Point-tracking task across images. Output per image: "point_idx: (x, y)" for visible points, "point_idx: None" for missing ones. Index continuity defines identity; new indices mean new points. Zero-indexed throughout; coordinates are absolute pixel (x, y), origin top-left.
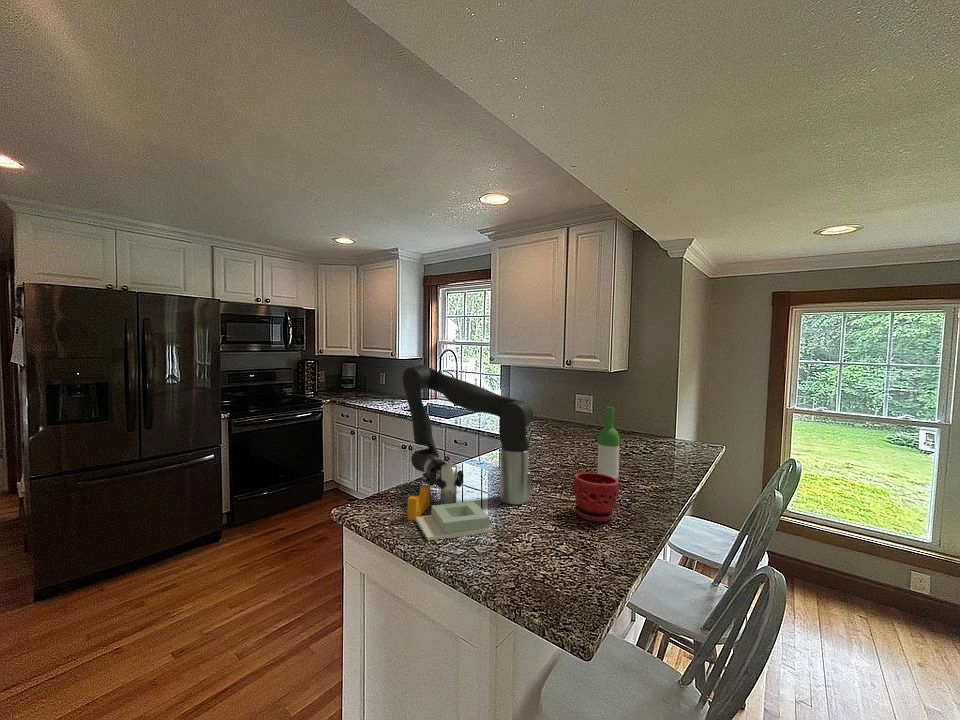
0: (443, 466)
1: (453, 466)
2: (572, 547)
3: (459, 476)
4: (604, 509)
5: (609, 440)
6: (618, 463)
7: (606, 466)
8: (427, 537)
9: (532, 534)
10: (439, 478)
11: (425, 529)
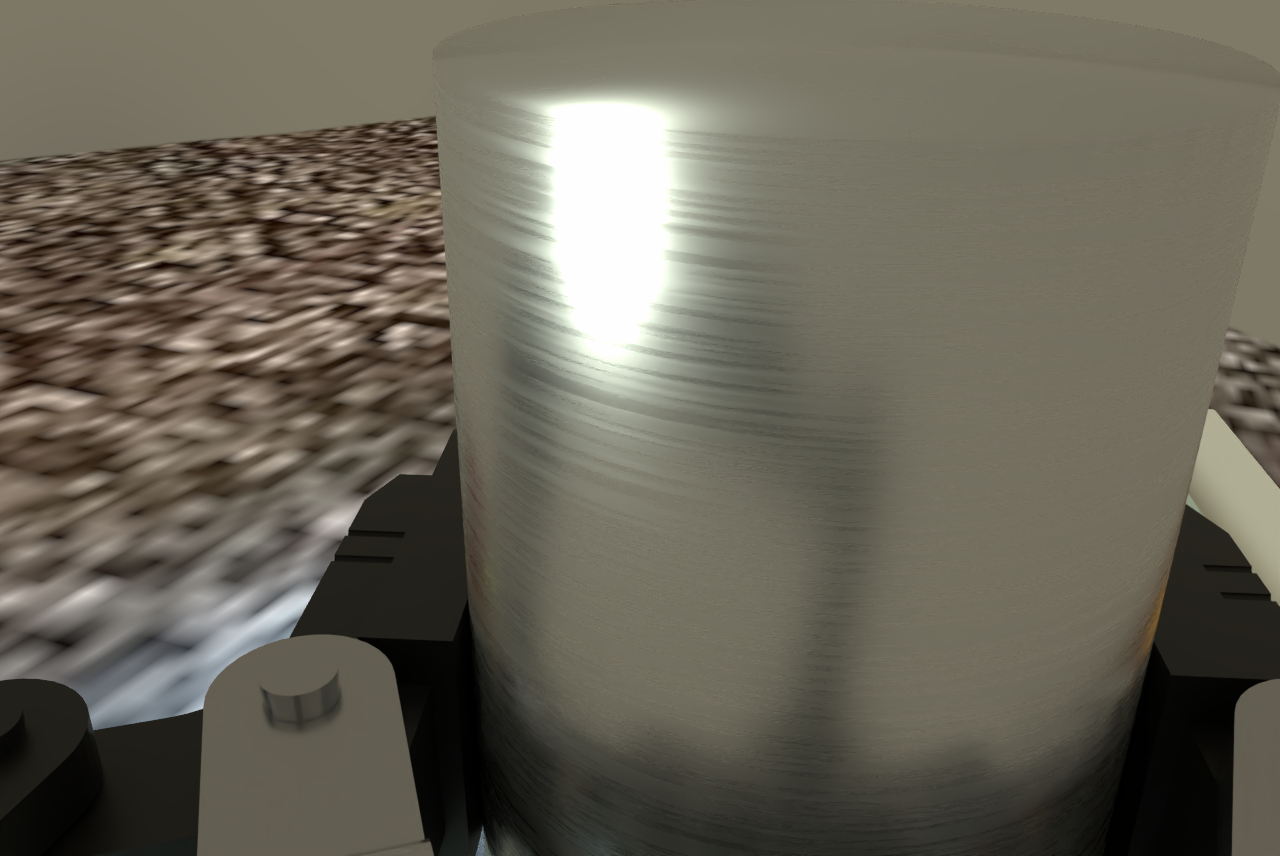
0: (1158, 66)
1: (645, 34)
2: (154, 242)
3: (89, 836)
4: None
5: None
6: None
7: None
8: (1217, 419)
9: (210, 346)
10: (1230, 679)
11: (1264, 504)
